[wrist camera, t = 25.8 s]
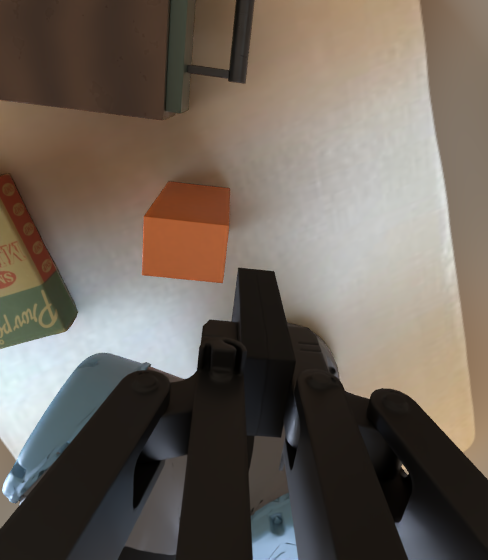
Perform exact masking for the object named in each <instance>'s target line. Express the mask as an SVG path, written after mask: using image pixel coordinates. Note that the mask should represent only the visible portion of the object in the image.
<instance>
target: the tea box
mask: <svg viewBox="0 0 488 560" xmlns="http://www.w3.org/2000/svg"><path fill="white" fill-rule="evenodd" d="M229 209H230V188H222V187H213V186H205V185H196V184H187V183H178V182H170V181H169V182H168V183H167V184H166V186H165V187H164V189H163V190H162V191H161V193H160V194H159V196H158V197H157V198H156V200H155V201H154V203H153V204H152V206H151V207H150V208H149V210H148V211H147V213H146V214H145V216H144V225H143V257H142V275H146V276H156V277H166V278H176V279H186V280H196V281H206V282H216V283H223V278H224V269H225V260H226V251H227V242H228V233H229Z"/></svg>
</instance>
